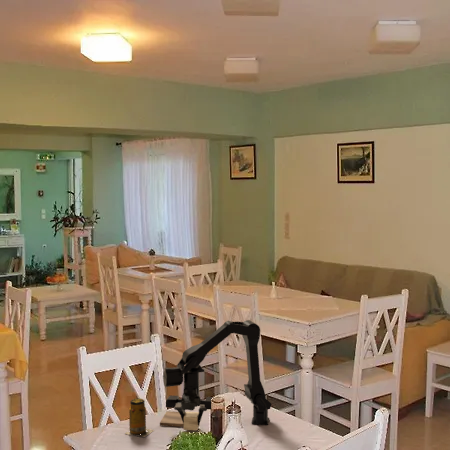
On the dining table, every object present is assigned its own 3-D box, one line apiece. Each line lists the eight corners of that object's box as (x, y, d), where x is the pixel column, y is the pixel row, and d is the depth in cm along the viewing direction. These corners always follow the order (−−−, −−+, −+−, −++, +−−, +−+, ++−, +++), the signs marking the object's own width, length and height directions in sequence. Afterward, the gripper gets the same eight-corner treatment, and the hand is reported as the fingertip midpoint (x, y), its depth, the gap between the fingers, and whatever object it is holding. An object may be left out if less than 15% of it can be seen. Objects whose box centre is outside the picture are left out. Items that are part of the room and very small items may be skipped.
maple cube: (186, 424, 230) (186, 411, 230) (199, 425, 230) (199, 412, 230) (183, 429, 226) (183, 416, 225) (197, 430, 225) (197, 417, 225)
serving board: (166, 414, 244) (166, 411, 244) (191, 415, 243) (191, 412, 243) (159, 425, 232) (159, 422, 232) (185, 427, 231) (185, 423, 231)
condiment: (134, 427, 231) (134, 396, 231) (154, 430, 228) (154, 399, 227) (124, 434, 225) (124, 402, 224) (144, 437, 221) (144, 405, 221)
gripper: (161, 389, 220) (162, 432, 221) (212, 392, 217) (212, 434, 218) (168, 380, 231) (169, 420, 232) (217, 382, 228) (217, 422, 229)
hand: (191, 424), depth 228 cm, fingers closed on maple cube, 5 cm apart
